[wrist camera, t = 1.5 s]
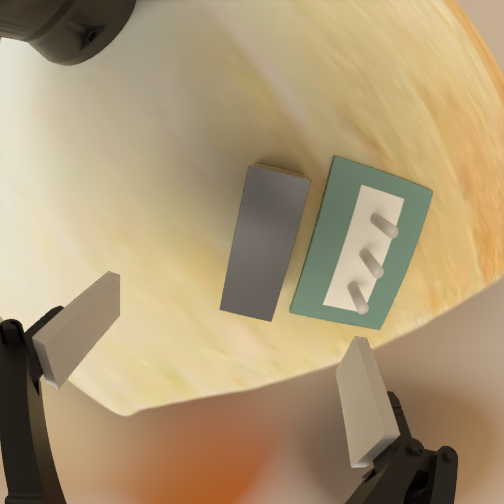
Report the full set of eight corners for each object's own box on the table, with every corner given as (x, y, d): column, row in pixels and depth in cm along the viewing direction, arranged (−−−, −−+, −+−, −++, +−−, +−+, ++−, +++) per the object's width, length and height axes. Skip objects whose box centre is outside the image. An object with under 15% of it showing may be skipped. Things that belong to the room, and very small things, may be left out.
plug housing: (256, 162, 28) (248, 165, 21) (302, 173, 28) (310, 180, 21) (232, 275, 32) (219, 309, 25) (273, 285, 32) (271, 321, 25)
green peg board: (333, 156, 27) (346, 157, 21) (430, 190, 26) (457, 199, 21) (289, 309, 33) (290, 338, 28) (378, 326, 33) (391, 354, 27)
